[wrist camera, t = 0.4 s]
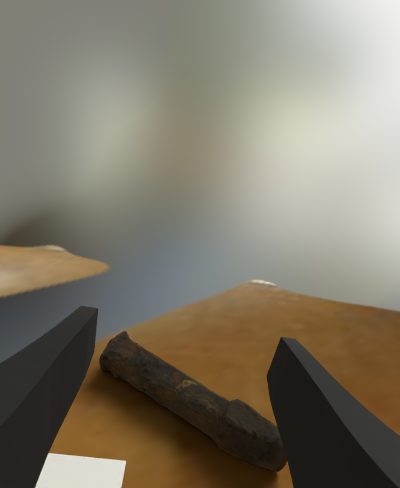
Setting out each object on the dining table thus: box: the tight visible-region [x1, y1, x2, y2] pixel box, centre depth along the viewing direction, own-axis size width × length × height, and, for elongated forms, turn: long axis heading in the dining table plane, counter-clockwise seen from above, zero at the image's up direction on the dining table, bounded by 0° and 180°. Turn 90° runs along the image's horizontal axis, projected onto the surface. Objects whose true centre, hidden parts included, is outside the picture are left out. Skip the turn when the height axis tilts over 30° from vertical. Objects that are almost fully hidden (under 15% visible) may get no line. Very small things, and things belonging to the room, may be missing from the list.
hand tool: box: [99, 331, 287, 472], centre depth 28 cm, size 19×4×5 cm, turn 60°
